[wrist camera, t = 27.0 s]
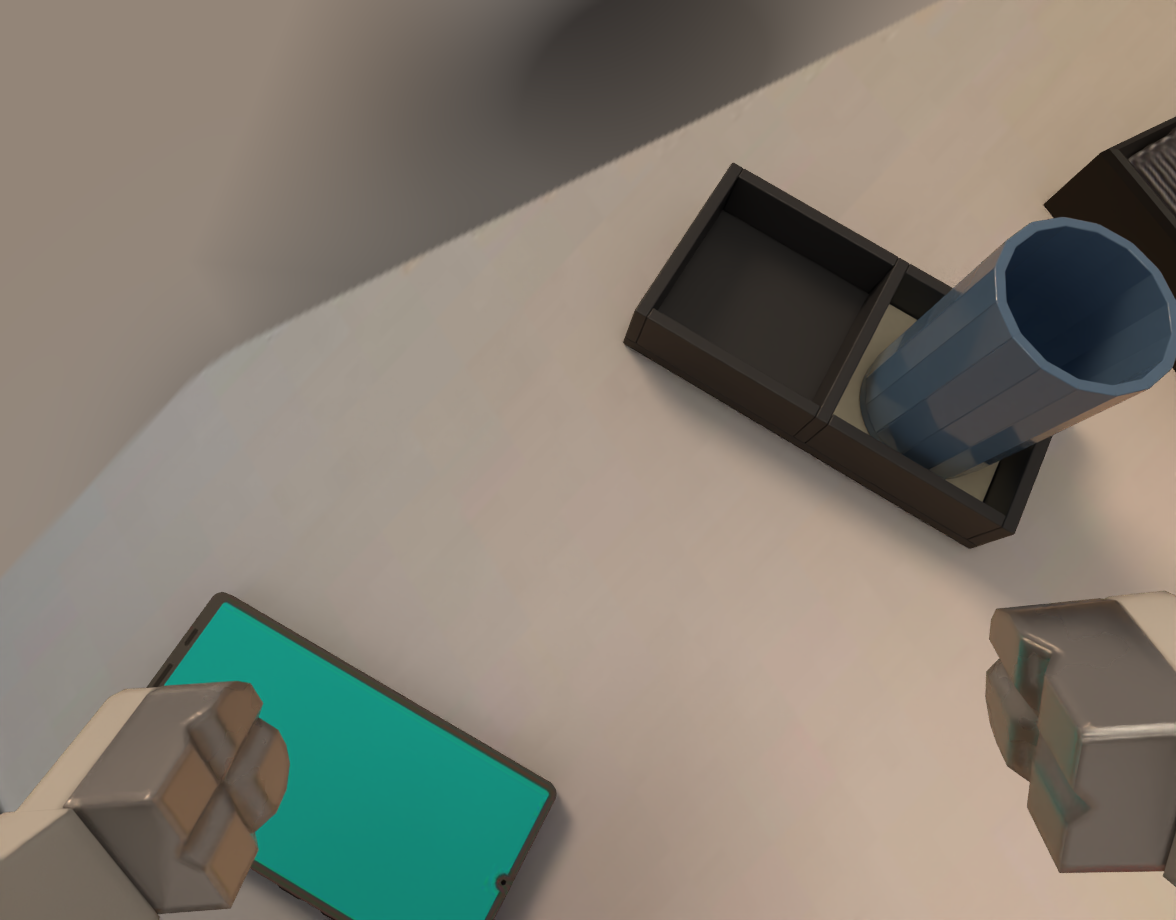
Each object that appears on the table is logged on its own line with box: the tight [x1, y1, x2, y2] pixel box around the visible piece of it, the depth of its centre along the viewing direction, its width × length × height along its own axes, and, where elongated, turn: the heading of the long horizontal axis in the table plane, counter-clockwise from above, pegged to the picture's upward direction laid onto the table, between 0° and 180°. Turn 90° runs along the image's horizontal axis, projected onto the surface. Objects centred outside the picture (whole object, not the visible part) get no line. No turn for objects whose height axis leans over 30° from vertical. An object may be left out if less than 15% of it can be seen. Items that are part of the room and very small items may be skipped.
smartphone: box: [146, 592, 556, 920], centre depth 28 cm, size 7×1×15 cm
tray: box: [623, 163, 1053, 548], centre depth 35 cm, size 18×10×3 cm, turn 59°
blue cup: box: [860, 217, 1176, 479], centre depth 31 cm, size 7×7×10 cm
